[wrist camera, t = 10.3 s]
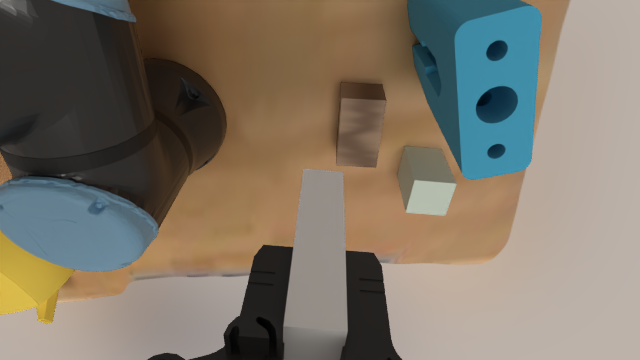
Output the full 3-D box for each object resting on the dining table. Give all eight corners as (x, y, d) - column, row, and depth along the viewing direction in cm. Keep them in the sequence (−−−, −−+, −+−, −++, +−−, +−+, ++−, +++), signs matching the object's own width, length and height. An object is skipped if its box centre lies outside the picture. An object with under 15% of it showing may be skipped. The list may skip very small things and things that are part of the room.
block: (459, 76, 44) (530, 169, 28) (417, 86, 45) (462, 181, 29) (453, -36, 38) (542, 1, 21) (404, -22, 39) (453, 24, 22)
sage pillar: (397, 175, 53) (405, 212, 47) (404, 145, 50) (414, 180, 44) (431, 178, 53) (445, 215, 47) (441, 148, 50) (456, 183, 44)
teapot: (103, 276, 68) (65, 334, 59) (50, 288, 71) (6, 346, 62) (20, 194, 58) (-43, 250, 48) (-38, 212, 60) (-109, 268, 51)
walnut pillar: (336, 166, 47) (341, 98, 41) (336, 145, 51) (341, 81, 45) (376, 168, 47) (386, 100, 41) (372, 147, 51) (381, 83, 45)
